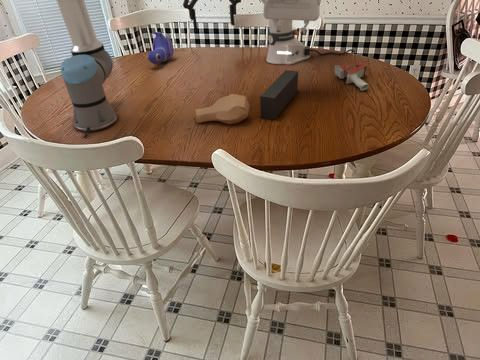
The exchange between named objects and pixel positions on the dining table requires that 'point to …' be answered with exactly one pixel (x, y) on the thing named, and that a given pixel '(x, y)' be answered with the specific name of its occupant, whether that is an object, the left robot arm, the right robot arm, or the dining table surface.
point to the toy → (161, 49)
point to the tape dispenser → (353, 74)
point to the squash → (225, 110)
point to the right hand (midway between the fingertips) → (290, 32)
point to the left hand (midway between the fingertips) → (214, 26)
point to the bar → (278, 94)
